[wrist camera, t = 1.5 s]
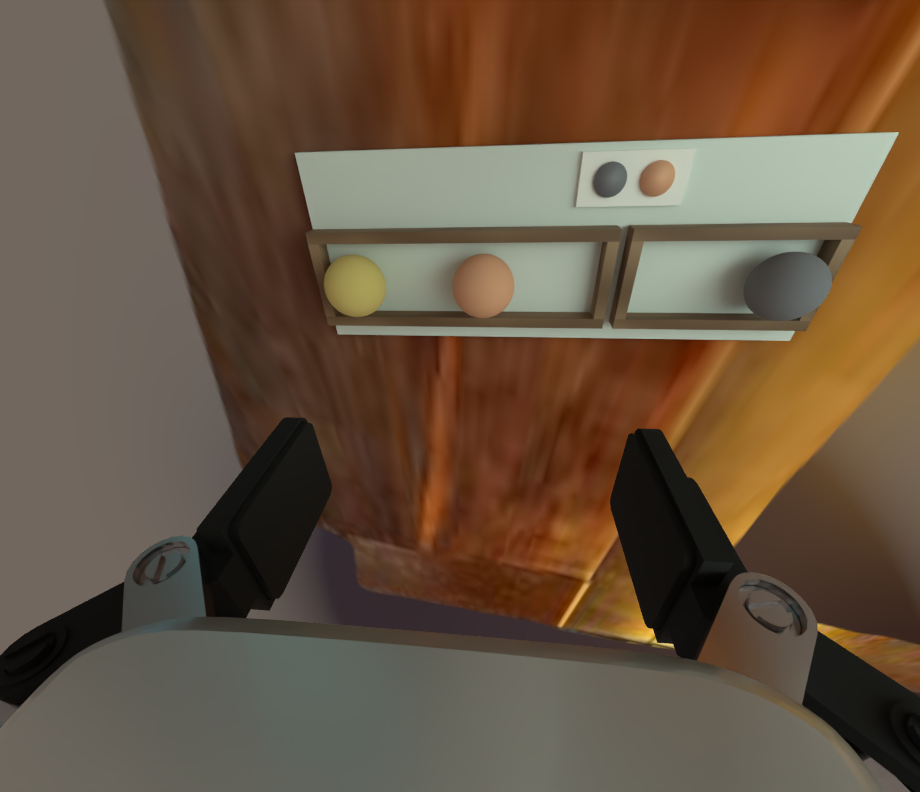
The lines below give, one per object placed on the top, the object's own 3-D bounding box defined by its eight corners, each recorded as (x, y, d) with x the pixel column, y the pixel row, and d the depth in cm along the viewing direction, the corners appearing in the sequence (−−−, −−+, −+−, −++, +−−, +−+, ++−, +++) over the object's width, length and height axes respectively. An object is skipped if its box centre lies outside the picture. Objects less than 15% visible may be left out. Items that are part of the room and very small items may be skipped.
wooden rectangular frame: (628, 224, 23) (634, 229, 22) (846, 222, 22) (862, 226, 21) (608, 321, 27) (612, 328, 26) (794, 323, 26) (805, 331, 25)
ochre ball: (331, 247, 26) (306, 264, 22) (388, 247, 25) (371, 264, 22) (343, 303, 28) (322, 326, 25) (395, 304, 28) (381, 327, 24)
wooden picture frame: (312, 229, 25) (305, 233, 24) (617, 225, 23) (622, 229, 22) (334, 318, 29) (328, 325, 28) (598, 321, 27) (602, 328, 26)
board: (303, 152, 24) (290, 153, 22) (880, 132, 21) (907, 132, 19) (343, 327, 31) (335, 337, 29) (779, 333, 27) (794, 343, 26)
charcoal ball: (745, 244, 23) (784, 262, 20) (815, 243, 23) (867, 262, 20) (721, 306, 26) (753, 331, 22) (785, 306, 25) (827, 332, 22)
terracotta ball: (454, 246, 25) (447, 264, 22) (515, 246, 25) (517, 263, 21) (456, 304, 27) (450, 328, 24) (512, 304, 27) (513, 328, 24)
